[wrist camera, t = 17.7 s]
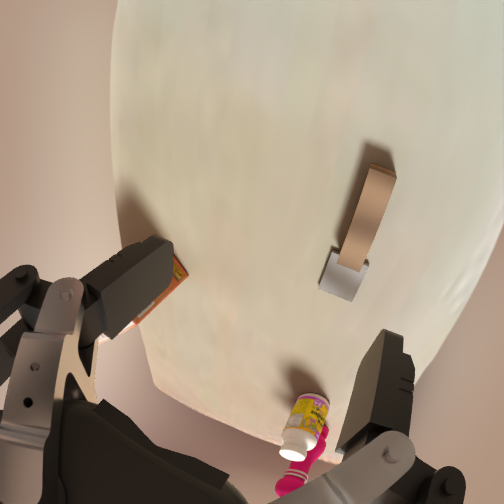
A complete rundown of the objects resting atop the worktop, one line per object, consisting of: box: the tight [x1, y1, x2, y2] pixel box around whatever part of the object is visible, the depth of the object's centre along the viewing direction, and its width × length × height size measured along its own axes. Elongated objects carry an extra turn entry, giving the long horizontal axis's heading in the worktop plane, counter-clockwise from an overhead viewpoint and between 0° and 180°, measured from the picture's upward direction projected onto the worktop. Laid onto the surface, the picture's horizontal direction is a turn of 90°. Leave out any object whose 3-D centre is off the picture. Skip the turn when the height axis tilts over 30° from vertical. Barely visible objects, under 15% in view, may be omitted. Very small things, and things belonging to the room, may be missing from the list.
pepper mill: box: [275, 425, 329, 497], centre depth 50 cm, size 7×7×20 cm
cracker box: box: [98, 255, 189, 345], centre depth 50 cm, size 14×6×21 cm
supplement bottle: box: [279, 393, 329, 461], centre depth 48 cm, size 7×7×13 cm
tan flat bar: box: [318, 163, 397, 302], centre depth 34 cm, size 18×5×3 cm, turn 169°
